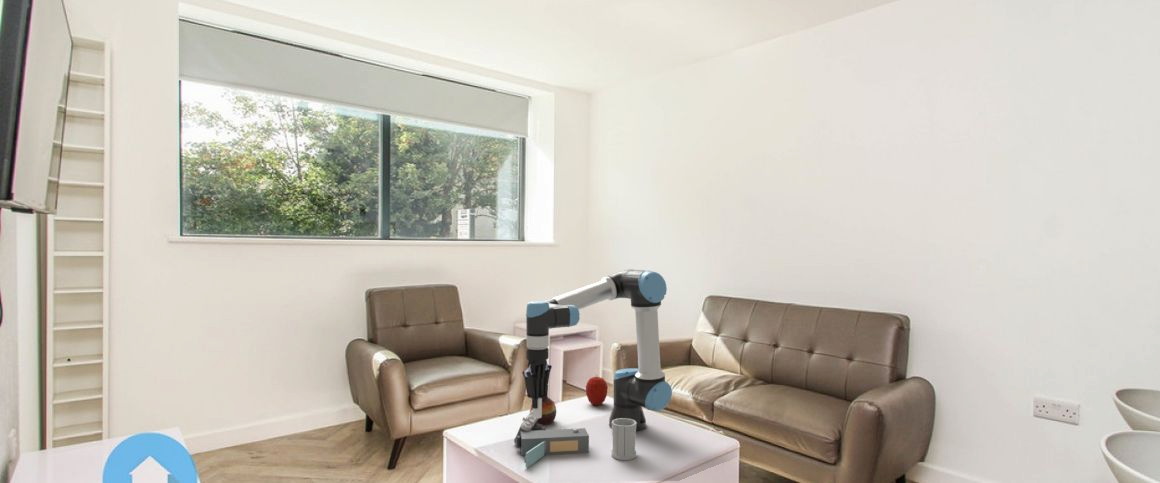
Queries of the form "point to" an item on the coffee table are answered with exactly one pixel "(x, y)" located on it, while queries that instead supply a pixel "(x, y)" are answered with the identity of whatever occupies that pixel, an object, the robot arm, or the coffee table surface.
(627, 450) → the cup
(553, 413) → the vase
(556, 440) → the long gray box
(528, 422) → the camera
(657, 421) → the coffee table surface
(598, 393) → the apple
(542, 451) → the side door
